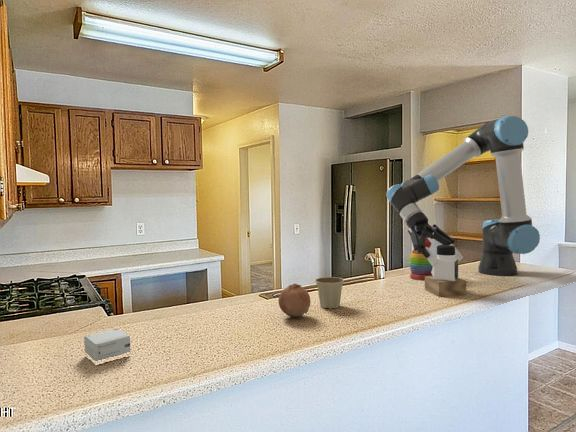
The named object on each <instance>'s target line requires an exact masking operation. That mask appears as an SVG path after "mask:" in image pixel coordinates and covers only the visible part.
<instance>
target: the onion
mask: <svg viewBox="0 0 576 432" xmlns="http://www.w3.org/2000/svg"><path fill="white" fill-rule="evenodd" d="M278 306H279V308H280V310H281V311H282V312H283V313H284V314H286V316H288V317H289V318H298V317H303V315H304V314H308V312H309V310H310V309H309V308H310V306H311V297H310V294H309V292H308V291H307V290H306V289H305V288H303V287H302V285H300V284H298V283H293V284H290V285H288V286H287V287H285V288H283V290H282V291H281V292H280V294H279V297H278Z"/></svg>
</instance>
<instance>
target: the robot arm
mask: <svg viewBox="0 0 576 432" xmlns="http://www.w3.org/2000/svg"><path fill="white" fill-rule="evenodd" d="M528 135H529V127H528V125H527V122H526V121H525V120H524V119H523V118H521V117H519V116H517V115H507V116H506V115H505V116H503V117H500V118H497V119H494V120H490V121H488V122H486V123H484V124H482V125H481V126H480V127H478V128H477V129H476V130H474V131H473V132H472V133H470V135H468V136H466V137H464V139H463V142H462V143H460V144H459V145H457V146H456V147H455V148H453V149H452V150H451V151H448V152H447V153H446V154H444V155H443V156H442V157H440V158H439V159H437V160H436V161H434V162H433V163H431V164H430V165H428V166H427V167H426V168H424V169H422V170H421V171H420V172H418V173H416V174H415V175H414V176H413V177H411V178H410V179H406V180H405V181H403V182H402V183H401V184H399V183H398V184H394V185H392V186H390V187H389V188H388V190H387V191H386V194H385V196H386V198H387V200H388V202H389V203H390V205H391V206H392V207H393V208H394V209H395V211H396V212H397V214H399V216H400V217H401V219H402V220H403V221H404V223H406V226H407V227H408V230H407V232H408V234H409V236H410V240H411V243H412V247H413V250H416V251H417V250H418V251H417V252H418V253H420V252H422V254H423V255H424V256H425V257H426V258H427V260H428V261H429V262H430V264H431V265H432V266H433V267H434V266H435V265H436V264H437V263H438V262H439V261H438V260H437V259H436V258H437V256H435V255H434V253H433V252H432V250H431V249H430V248H428V247H426V248H425V238H428V239H431V240H435V241H437V242H438V243H440V245H453V246H454V247H455V257H454V258H458V263H459V262H460V261H462V260H463V259H464V256H463V255H462V254H461V252H460V251H459V250H458V249H457V247H456V246H455V245H454V243H456V240H455V239H454V238H452V237H451V236H450V235H449V234H447V233H446V232H444V231H443V230H442V229H440V228H439V226H438V225H437V224H433V225H430V224H429V218H428V217H427V216H426V215H425V213H424V212H423V210H422V209H421V208H420V207H419V205H418V204H417V203H418V202H419V201H421V200H423V199H425V198H428V197H429V196H431V195H433V194H435V193H436V192H438V191H439V190H440V184H439V183H440V182H439V181H441V180H442V179H444V178H445V177H446V176H447V175H449V174H451V173H452V172H454V171H455V170H457V169H459V168H460V167H461V166H463V165H465V164H466V163H467V162H469V161H470V160H471V159H472V158H474V157H476V158H478V157H480V156H481V155H483V154H484V153H485V154H486V152H490V155H491V156H492V157H494V158H495V165H496V174H497V175H496V176H497V181H498V182H497V183H498V191H499V199H500V200H499V201H500V208H501V217H500V218H499V219H498V218H497V219H487V220H485V221H483V223H482V228H481V230H482V256H481V257H480V261H479V264H478V267H477V269H478V270H477V271H478V272H479V273H481V274H484V275H490V276H491V275H492V276H514V275H518V267H517V264H516V261H515V257H514V255H513V254H520V255H526V254H529V253H531V252H534V251H535V249H536V248H537V247H538V246H539V244H540V240H541V235H540V232H539V230H538V229H537V228H536V227H535V226H534V225H533V221H532V219H533V218H532V217H531V216H530V215H528V214H527V208H526V207H527V206H526V198H525V187H524V180H523V170H522V163H521V162H522V160H521V153H522V152H523V151H524V150H525V146H524V142H525V141H526V140H527V138H528Z"/></svg>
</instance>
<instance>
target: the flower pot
mask: <svg viewBox="0 0 576 432" xmlns="http://www.w3.org/2000/svg"><path fill="white" fill-rule="evenodd" d="M314 282H315V283H316V287H317V294H318V299H319V306H320V307H321V308H322V307H323V309H330V310H333V309H332V308H334V309H338V308H339V307H340V306H341V297H342V291H343V286H344V282H345V279H344V278H342V277H336V276H324V277H317V278H315V280H314Z"/></svg>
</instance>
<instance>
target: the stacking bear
mask: <svg viewBox="0 0 576 432" xmlns="http://www.w3.org/2000/svg"><path fill="white" fill-rule="evenodd" d="M431 246H432V242H431V241H430V239H429V238H425V248H426V247H428V248H429V249H430V248H431ZM417 251H418V250H417ZM417 251H416V250H414V249H413V250H411V252H410V255H409V260H408V261H409V269H410V272H411V273H410V275H409V278H410V279H413V280H417V281H425V276H432V268H434V266H432V265H431V264H430V262H429V261H428V260H427V258H426V257H425V256H424V255H423V254H422V252H420V253H418V252H417Z"/></svg>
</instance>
